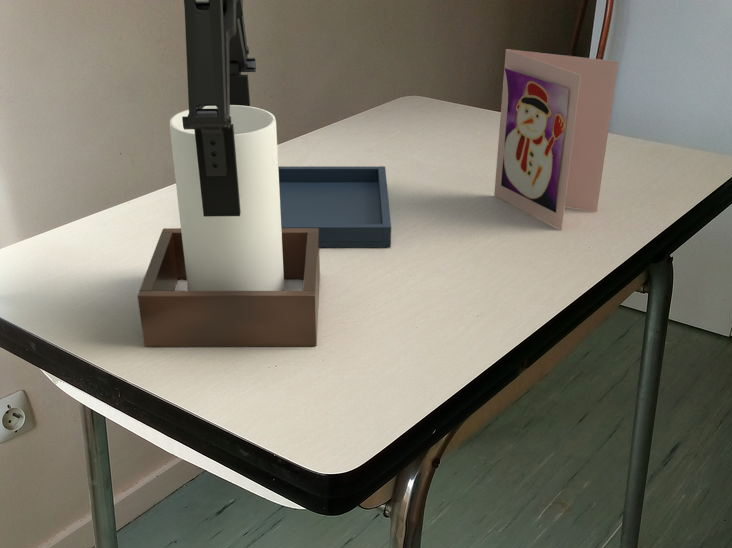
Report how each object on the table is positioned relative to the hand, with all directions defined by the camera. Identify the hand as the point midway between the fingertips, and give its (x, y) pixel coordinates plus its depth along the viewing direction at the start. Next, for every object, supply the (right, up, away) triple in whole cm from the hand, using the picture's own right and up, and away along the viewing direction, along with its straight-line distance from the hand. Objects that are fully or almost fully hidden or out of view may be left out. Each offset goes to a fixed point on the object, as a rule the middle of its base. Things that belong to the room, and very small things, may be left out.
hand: (230, 183), depth 81 cm
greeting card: (+30, +6, +27) cm, 41 cm away
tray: (+4, +4, +24) cm, 25 cm away
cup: (0, -9, +7) cm, 11 cm away
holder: (0, -9, +7) cm, 11 cm away
